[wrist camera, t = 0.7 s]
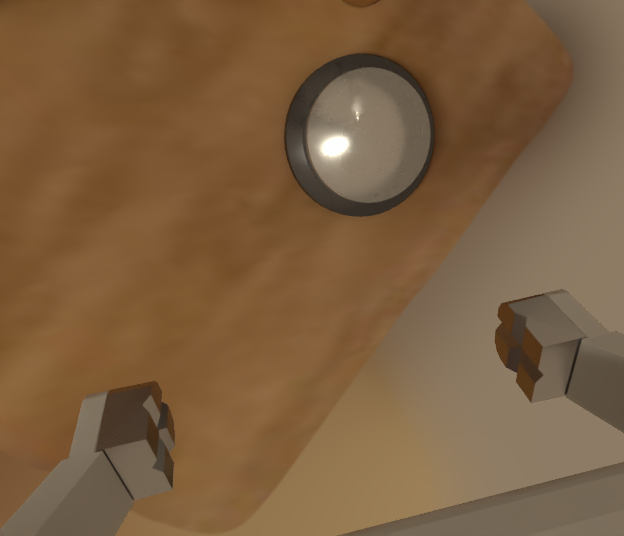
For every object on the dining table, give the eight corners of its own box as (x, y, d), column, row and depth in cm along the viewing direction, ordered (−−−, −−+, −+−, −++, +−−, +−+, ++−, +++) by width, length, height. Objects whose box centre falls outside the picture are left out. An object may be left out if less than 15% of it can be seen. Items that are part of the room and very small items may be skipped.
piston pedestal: (254, 105, 45) (259, 101, 42) (389, 26, 47) (403, 18, 44) (331, 243, 50) (341, 248, 47) (451, 167, 52) (468, 167, 49)
